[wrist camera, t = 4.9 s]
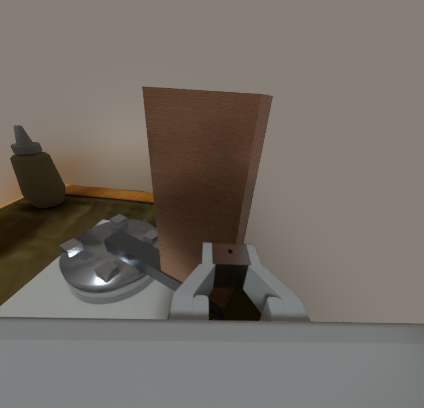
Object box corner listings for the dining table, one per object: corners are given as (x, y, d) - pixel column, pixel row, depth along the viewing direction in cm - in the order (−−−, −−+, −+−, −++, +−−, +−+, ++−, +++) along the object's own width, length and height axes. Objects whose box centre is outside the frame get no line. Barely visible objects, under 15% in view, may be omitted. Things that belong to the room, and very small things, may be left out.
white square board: (-3, 327, 22) (-14, 316, 21) (105, 228, 40) (102, 218, 38) (156, 363, 20) (154, 353, 19) (196, 242, 38) (197, 233, 36)
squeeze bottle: (19, 209, 43) (-25, 126, 34) (49, 193, 50) (19, 122, 41) (50, 213, 43) (14, 130, 34) (77, 197, 50) (53, 125, 41)
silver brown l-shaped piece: (48, 275, 26) (-65, 71, 14) (125, 228, 36) (96, 85, 25) (193, 394, 17) (207, 84, 5) (243, 285, 27) (287, 98, 15)
